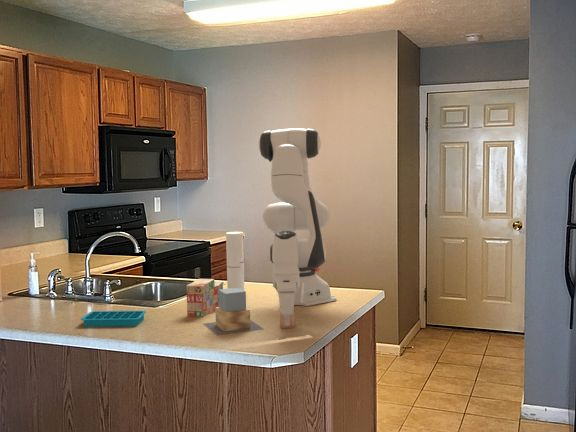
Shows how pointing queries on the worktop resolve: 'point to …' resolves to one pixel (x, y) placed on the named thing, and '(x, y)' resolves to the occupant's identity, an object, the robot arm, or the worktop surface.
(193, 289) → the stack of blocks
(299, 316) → the worktop surface
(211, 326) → the charcoal rubber mat
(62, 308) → the worktop surface
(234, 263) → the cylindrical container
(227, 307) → the slate-blue block
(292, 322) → the terracotta cylinder
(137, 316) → the ice cube tray
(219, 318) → the oak block
